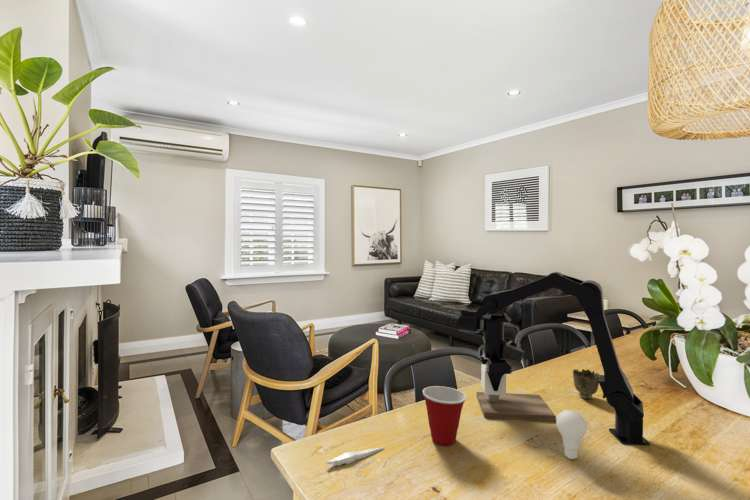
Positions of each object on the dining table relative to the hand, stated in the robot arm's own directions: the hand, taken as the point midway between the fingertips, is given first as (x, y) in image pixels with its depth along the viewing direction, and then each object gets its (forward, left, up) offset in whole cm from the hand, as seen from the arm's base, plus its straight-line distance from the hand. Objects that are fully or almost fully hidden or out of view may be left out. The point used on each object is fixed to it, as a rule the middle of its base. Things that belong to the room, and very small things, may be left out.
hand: (493, 386), depth 113 cm
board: (-1, -5, -6) cm, 8 cm away
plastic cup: (-21, +16, -6) cm, 27 cm away
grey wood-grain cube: (0, 0, -4) cm, 4 cm away
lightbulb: (-26, -12, -6) cm, 30 cm away
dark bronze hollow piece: (+9, -30, -6) cm, 32 cm away
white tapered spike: (-31, +36, -6) cm, 49 cm away
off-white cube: (0, 0, -1) cm, 1 cm away
